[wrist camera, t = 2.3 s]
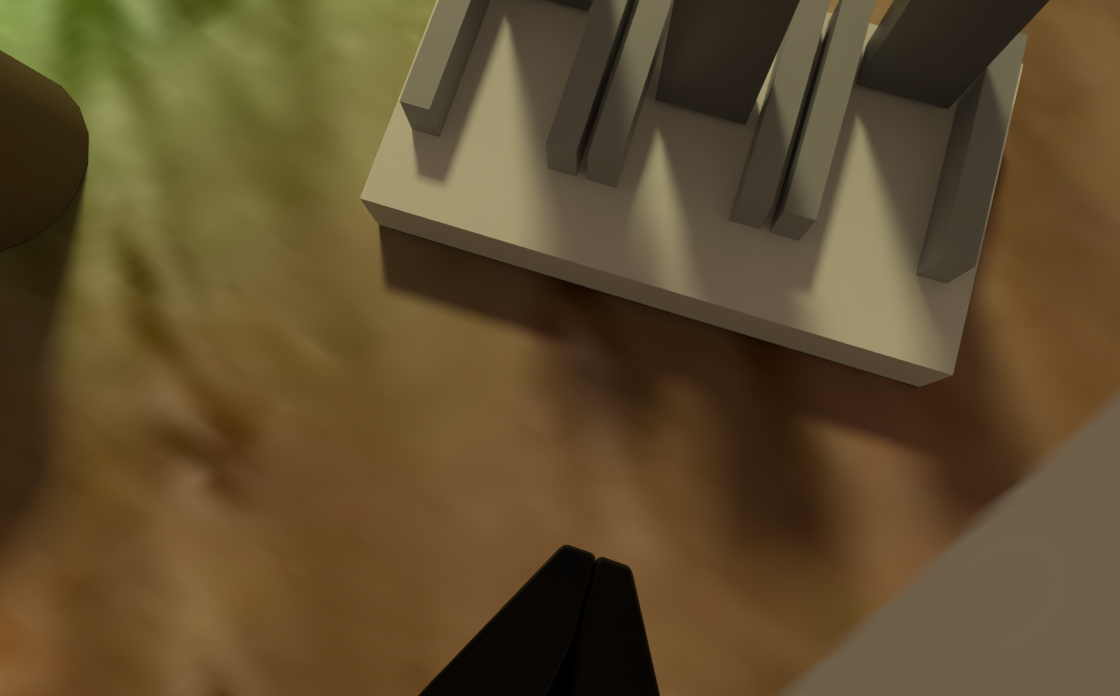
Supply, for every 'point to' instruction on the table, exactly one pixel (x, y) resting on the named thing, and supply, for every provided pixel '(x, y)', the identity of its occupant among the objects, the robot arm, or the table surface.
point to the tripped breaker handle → (721, 54)
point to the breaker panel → (703, 176)
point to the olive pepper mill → (36, 151)
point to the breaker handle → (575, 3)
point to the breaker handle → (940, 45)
